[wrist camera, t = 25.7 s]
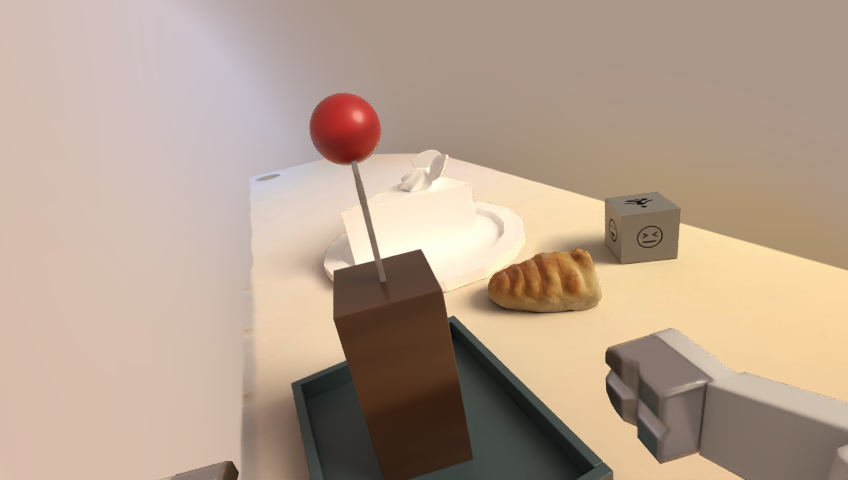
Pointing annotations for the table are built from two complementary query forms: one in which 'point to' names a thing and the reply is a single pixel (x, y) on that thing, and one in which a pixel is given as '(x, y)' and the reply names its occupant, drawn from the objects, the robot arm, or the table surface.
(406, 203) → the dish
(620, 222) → the dice cube
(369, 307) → the red ball lever
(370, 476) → the teal serving tray
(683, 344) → the robot arm
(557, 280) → the pastry
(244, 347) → the table surface
